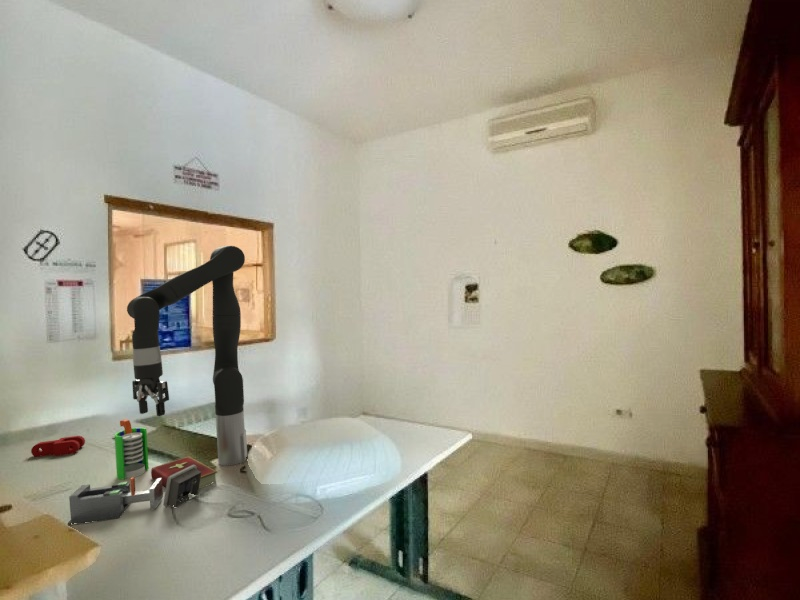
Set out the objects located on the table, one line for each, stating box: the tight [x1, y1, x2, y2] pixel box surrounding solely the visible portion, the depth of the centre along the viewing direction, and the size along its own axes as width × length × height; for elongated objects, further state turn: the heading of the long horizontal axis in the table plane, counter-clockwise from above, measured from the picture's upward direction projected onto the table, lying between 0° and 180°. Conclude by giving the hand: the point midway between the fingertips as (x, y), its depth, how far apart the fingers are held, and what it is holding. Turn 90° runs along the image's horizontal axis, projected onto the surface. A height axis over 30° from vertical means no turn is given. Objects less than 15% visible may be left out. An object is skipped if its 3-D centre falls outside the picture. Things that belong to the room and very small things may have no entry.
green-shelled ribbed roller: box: [114, 418, 149, 480], centre depth 146 cm, size 9×8×18 cm
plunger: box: [123, 477, 164, 510], centre depth 121 cm, size 13×7×8 cm, turn 103°
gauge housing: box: [67, 481, 132, 527], centre depth 120 cm, size 12×10×7 cm
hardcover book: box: [150, 455, 218, 490], centre depth 138 cm, size 12×21×4 cm, turn 48°
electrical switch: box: [163, 465, 201, 508], centre depth 124 cm, size 9×5×9 cm, turn 158°
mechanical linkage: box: [30, 435, 86, 458], centre depth 169 cm, size 16×7×5 cm, turn 108°
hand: (152, 414), depth 134 cm, fingers open, 8 cm apart
